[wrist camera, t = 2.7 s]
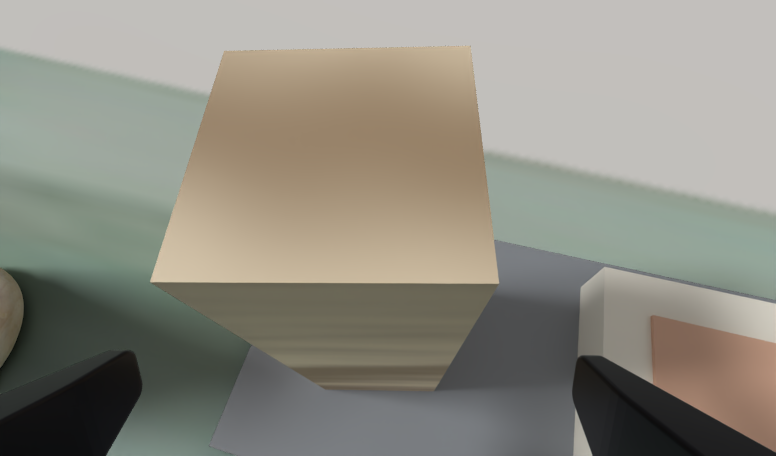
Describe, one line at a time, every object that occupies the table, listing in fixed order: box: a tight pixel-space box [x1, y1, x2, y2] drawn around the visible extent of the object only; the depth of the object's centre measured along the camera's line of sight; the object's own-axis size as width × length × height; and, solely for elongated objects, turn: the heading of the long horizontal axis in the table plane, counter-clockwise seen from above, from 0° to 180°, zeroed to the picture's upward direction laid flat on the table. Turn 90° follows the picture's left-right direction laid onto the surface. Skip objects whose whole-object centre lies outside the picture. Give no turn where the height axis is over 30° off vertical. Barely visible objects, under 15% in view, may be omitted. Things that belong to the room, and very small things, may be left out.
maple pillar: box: [150, 46, 499, 391], centre depth 12 cm, size 5×5×13 cm
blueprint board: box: [209, 240, 776, 456], centre depth 16 cm, size 24×12×4 cm, turn 75°
